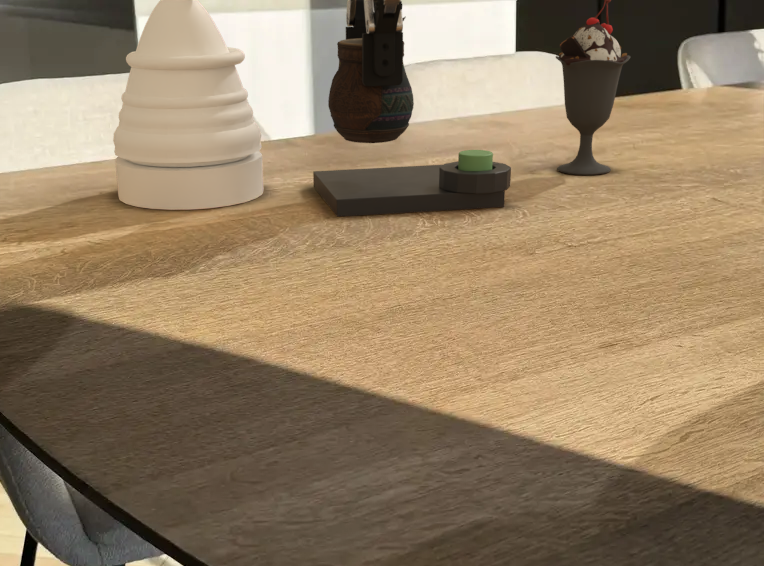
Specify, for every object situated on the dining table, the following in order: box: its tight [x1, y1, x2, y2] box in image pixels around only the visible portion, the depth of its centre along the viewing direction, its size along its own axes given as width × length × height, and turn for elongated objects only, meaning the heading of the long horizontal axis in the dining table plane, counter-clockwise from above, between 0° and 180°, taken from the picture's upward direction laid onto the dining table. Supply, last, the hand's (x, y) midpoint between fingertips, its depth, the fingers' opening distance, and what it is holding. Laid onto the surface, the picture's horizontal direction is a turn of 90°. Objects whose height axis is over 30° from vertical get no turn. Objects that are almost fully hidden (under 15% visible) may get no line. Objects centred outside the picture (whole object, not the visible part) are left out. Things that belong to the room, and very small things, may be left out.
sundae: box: [555, 0, 631, 176], centre depth 102 cm, size 7×7×15 cm
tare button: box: [457, 149, 494, 171], centre depth 92 cm, size 3×3×2 cm
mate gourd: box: [327, 16, 415, 144], centre depth 93 cm, size 7×8×10 cm
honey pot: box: [112, 0, 265, 211], centre depth 95 cm, size 13×13×18 cm
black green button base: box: [312, 161, 512, 218], centre depth 95 cm, size 15×13×3 cm
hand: (373, 78), depth 93 cm, fingers closed on mate gourd, 6 cm apart
